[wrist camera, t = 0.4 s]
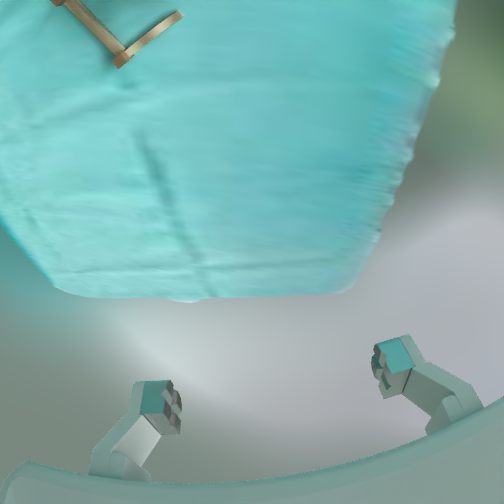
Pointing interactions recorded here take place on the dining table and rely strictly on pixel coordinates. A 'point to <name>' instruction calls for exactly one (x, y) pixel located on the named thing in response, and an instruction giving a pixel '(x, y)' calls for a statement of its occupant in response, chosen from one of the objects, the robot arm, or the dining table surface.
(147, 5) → the dining table surface
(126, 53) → the cradle
